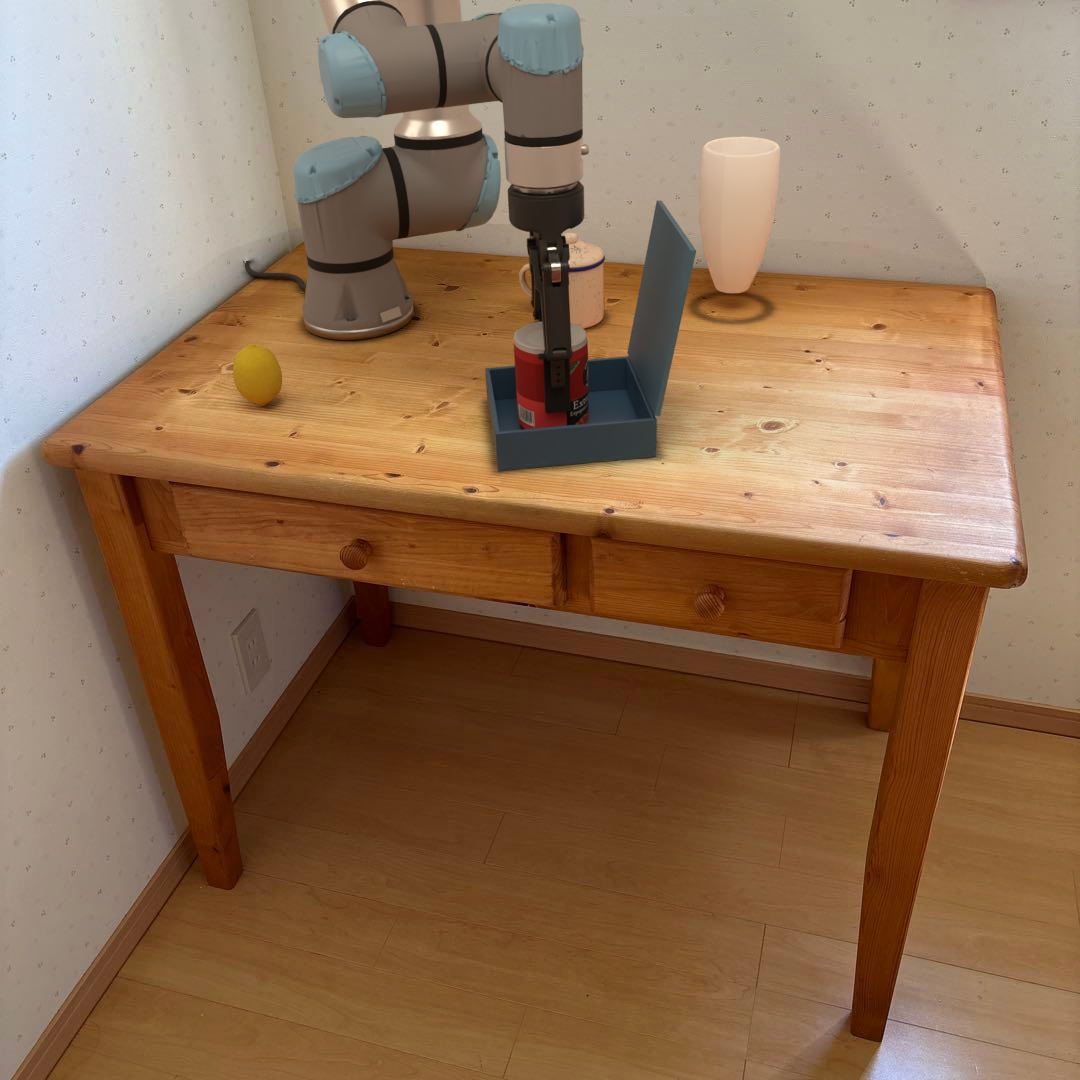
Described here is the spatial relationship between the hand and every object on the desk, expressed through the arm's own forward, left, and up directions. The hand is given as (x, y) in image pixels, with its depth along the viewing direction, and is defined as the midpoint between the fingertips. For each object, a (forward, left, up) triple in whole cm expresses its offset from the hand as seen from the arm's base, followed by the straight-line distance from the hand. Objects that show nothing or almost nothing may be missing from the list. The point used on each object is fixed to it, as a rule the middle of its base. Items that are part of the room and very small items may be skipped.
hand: (553, 392), depth 115 cm
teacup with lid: (-21, +24, -5) cm, 32 cm away
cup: (-5, +41, -5) cm, 42 cm away
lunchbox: (+1, +1, -5) cm, 5 cm away
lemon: (-31, -18, -5) cm, 36 cm away
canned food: (0, 0, -4) cm, 4 cm away
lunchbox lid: (+7, +9, +9) cm, 14 cm away
